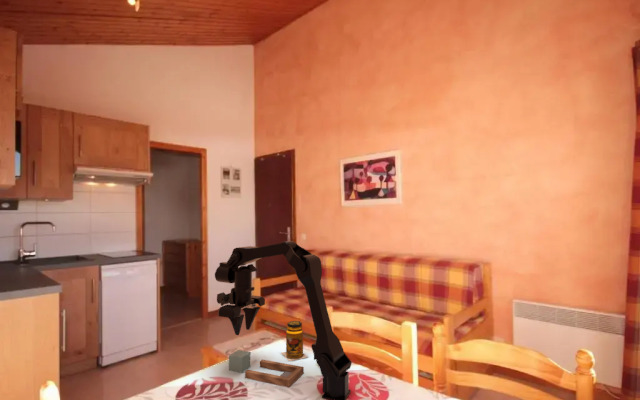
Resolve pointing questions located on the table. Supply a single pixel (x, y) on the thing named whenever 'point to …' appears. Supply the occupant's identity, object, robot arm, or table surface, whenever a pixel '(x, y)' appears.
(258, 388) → the table surface
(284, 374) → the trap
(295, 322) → the condiment
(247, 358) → the block
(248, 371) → the channel
